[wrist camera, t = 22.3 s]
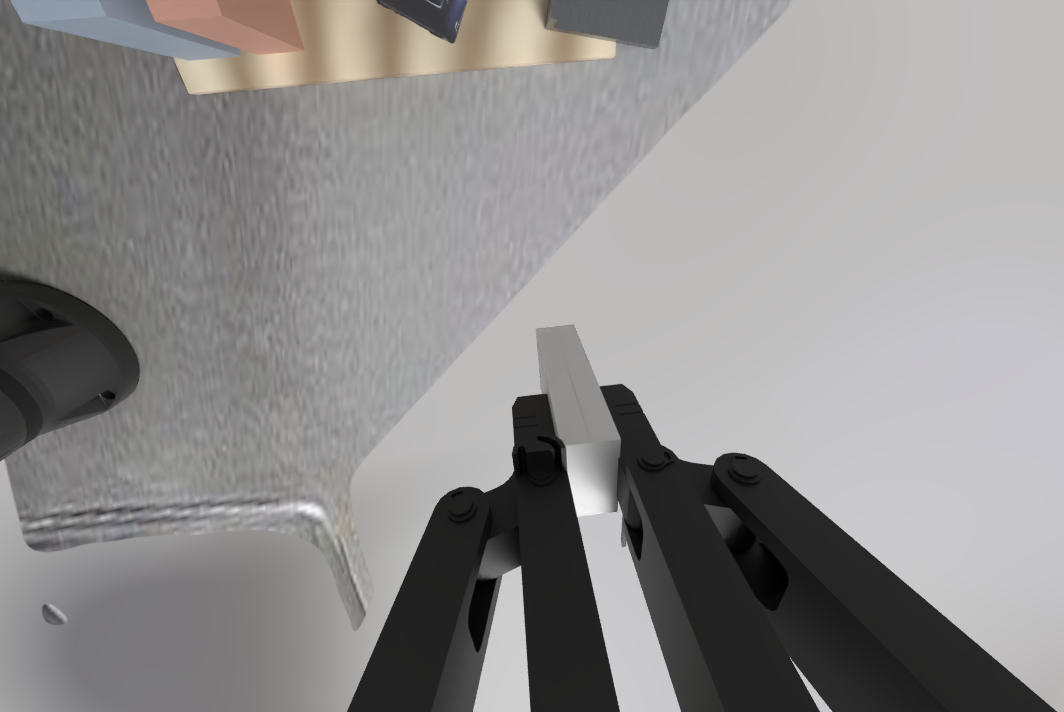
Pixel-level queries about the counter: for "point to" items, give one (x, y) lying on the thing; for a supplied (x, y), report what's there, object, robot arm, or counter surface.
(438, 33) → the small box
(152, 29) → the book
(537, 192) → the counter surface
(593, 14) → the bookend
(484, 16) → the shelf board
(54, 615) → the counter surface
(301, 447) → the counter surface
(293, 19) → the book
